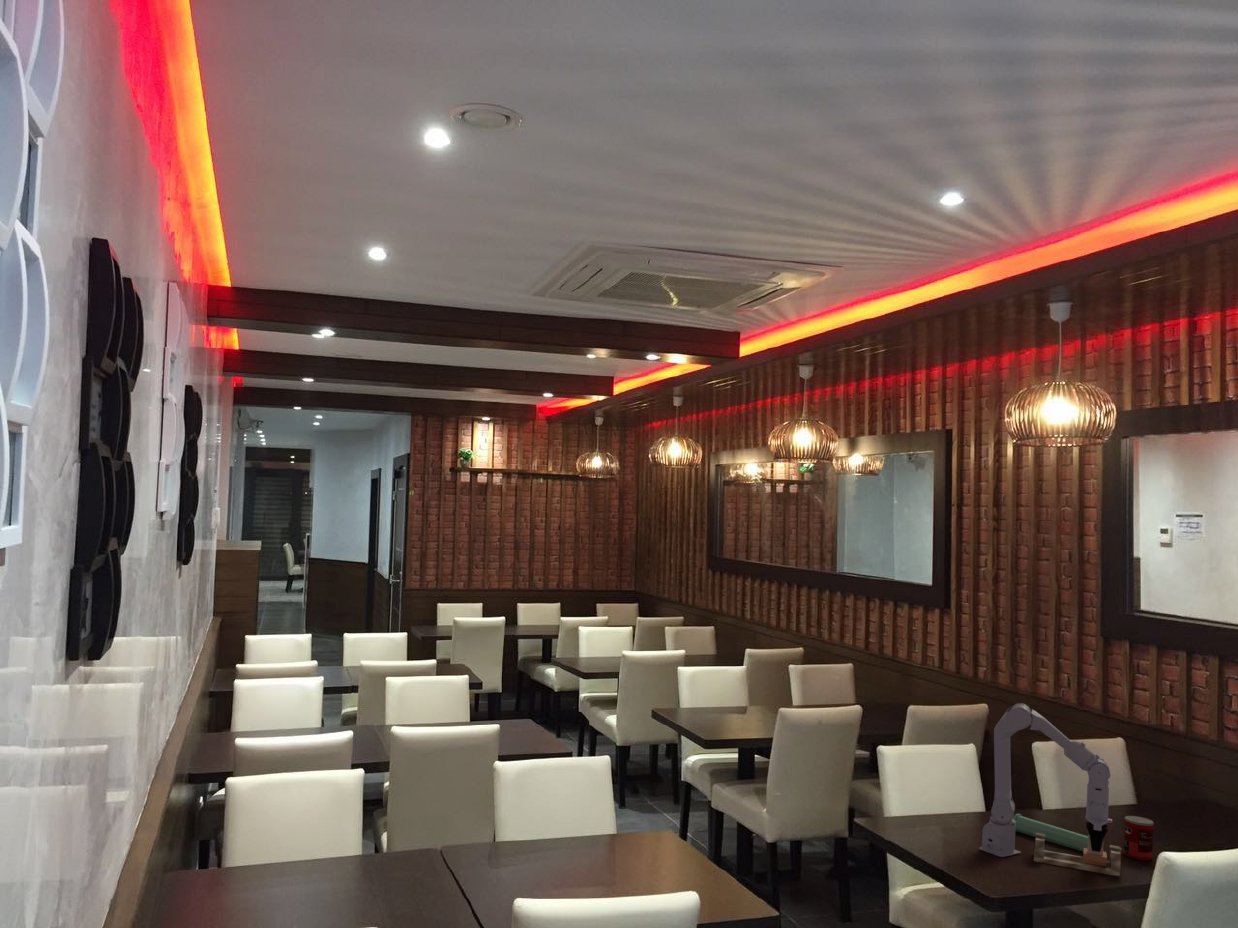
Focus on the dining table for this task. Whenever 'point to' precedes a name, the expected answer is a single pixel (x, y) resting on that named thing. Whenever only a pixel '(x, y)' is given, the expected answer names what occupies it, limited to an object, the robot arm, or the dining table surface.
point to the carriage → (1094, 855)
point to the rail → (1076, 858)
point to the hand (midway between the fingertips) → (1095, 849)
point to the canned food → (1138, 837)
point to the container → (1051, 833)
